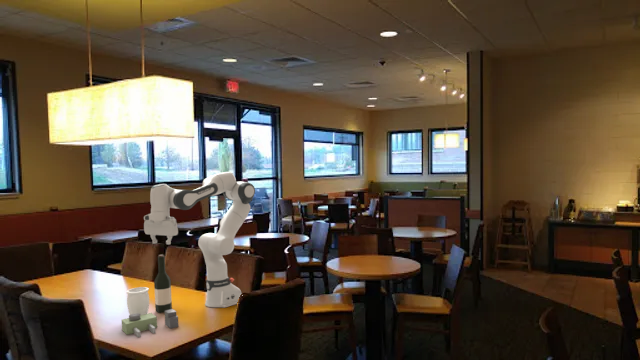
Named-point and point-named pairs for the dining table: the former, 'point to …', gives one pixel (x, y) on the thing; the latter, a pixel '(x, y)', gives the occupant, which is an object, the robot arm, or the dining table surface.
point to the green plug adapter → (139, 323)
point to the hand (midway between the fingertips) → (161, 243)
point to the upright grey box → (171, 318)
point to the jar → (138, 300)
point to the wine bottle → (162, 288)
